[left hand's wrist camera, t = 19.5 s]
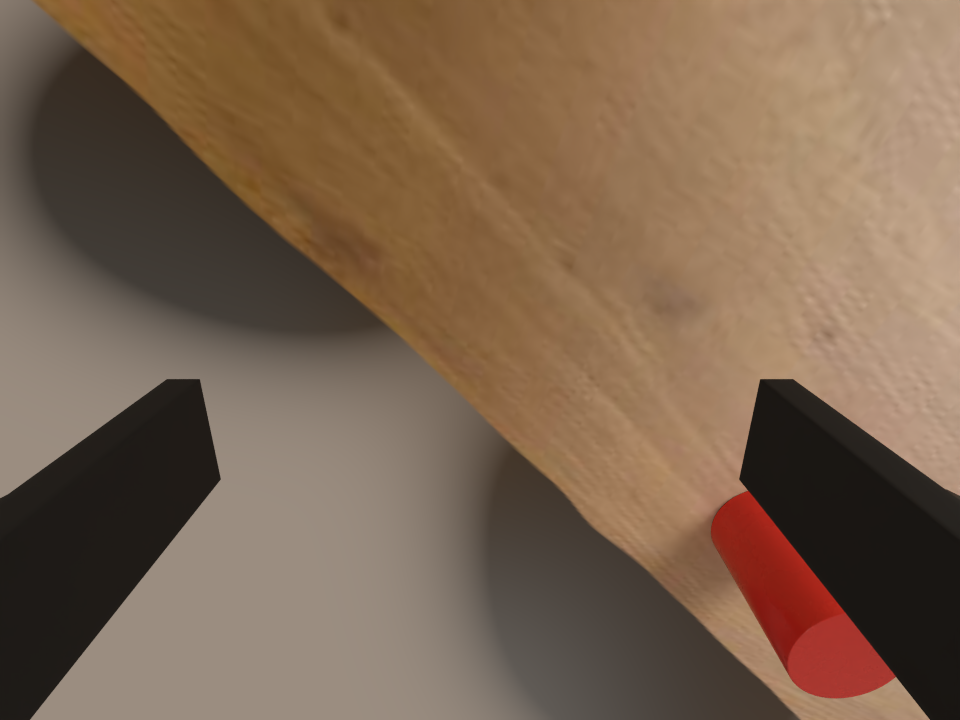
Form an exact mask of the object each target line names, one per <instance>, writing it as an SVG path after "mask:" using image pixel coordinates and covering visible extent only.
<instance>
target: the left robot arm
mask: <svg viewBox="0 0 960 720" xmlns="http://www.w3.org/2000/svg"><path fill="white" fill-rule="evenodd" d="M220 479H221V478H220V474H219V469H218V464H217V459H216V455H215V450H214V445H213V440H212V436H211V431H210V426H209V421H208V416H207V412H206V407H205V402H204V398H203V393H202V388H201V383H200V379H167V380H165V381H164V382H163V383H161V384H160V385H158V386H157V387H156V388H154V389H153V390H152V391H150V392H149V393H147V394H146V395H145V396H143V397H142V398H141V399H139V400H138V401H136V402H135V403H134V404H132V405H131V406H129V407H128V408H127V409H125V410H124V411H123V412H121V413H120V414H118V415H117V416H116V417H114V418H113V419H111V420H110V421H109V422H107V423H106V424H105V425H103V426H102V427H101V428H99V429H98V430H96V431H95V432H94V433H92V434H91V435H89V436H88V437H87V438H85V439H84V440H82V441H81V442H80V443H78V444H77V445H76V446H74V447H73V448H71V449H70V450H69V451H67V452H66V453H65V454H63V455H62V456H60V457H59V458H58V459H56V460H55V461H54V462H52V463H51V464H49V465H48V466H47V467H45V468H44V469H42V470H41V471H40V472H38V473H37V474H36V475H34V476H33V477H31V478H30V479H29V480H27V481H26V482H25V483H23V484H22V485H20V486H19V487H18V488H16V489H15V490H13V491H12V492H11V493H9V494H8V495H6V496H4V497H2V498H0V720H30V719H31V718H32V716H33V715H34V714H35V713H36V711H37V710H38V709H39V707H40V706H41V705H42V704H43V703H44V701H45V700H46V699H47V697H48V696H49V695H50V694H51V692H52V691H53V690H54V689H55V687H56V686H57V685H58V684H59V682H60V681H61V680H62V679H63V677H64V676H65V675H66V674H67V672H68V671H69V670H70V669H71V667H72V666H73V665H74V663H75V662H76V661H77V660H78V658H79V657H80V656H81V655H82V653H83V652H84V651H85V650H86V648H87V647H88V646H89V645H90V643H91V642H92V641H93V639H94V638H95V637H96V636H97V634H98V633H99V632H100V631H101V629H102V628H103V627H104V626H105V624H106V623H107V622H108V621H109V619H110V618H111V617H112V616H113V614H114V613H115V612H116V611H117V609H118V608H119V607H120V605H121V604H122V603H123V602H124V600H125V599H126V598H127V597H128V595H129V594H130V593H131V592H132V590H133V589H134V588H135V587H136V585H137V584H138V583H139V582H140V580H141V579H142V578H143V577H144V575H145V574H146V573H147V572H148V570H149V569H150V568H151V566H152V565H153V564H154V563H155V561H156V560H157V559H158V558H159V556H160V555H161V554H162V553H163V551H164V550H165V549H166V548H167V546H168V545H169V544H170V542H171V541H172V540H173V539H174V537H175V536H176V535H177V534H178V532H179V531H180V530H181V529H182V527H183V526H184V525H185V524H186V522H187V521H188V520H189V519H190V517H191V516H192V515H193V514H194V512H195V511H196V510H197V509H198V507H199V506H200V505H201V503H202V502H203V501H204V500H205V498H206V497H207V496H208V495H209V493H210V492H211V491H212V490H213V488H214V487H215V486H216V485H217V483H218V482H219V481H220ZM739 480H740V481H741V482H742V483H743V485H744V486H745V487H746V488H747V490H748V491H749V492H750V493H751V495H752V496H753V497H754V498H755V500H756V501H757V502H758V503H759V505H760V506H761V507H762V509H763V510H764V511H765V512H766V514H767V515H768V516H769V517H770V519H771V520H772V521H773V522H774V524H775V525H776V526H777V527H778V529H779V530H780V531H781V532H782V534H783V535H784V536H785V537H786V539H787V540H788V541H789V543H790V544H791V545H792V546H793V548H794V549H795V550H796V551H797V553H798V554H799V555H800V556H801V558H802V559H803V560H804V561H805V563H806V564H807V565H808V566H809V568H810V569H811V570H812V572H813V573H814V574H815V575H816V577H817V578H818V579H819V580H820V582H821V583H822V584H823V585H824V587H825V588H826V589H827V590H828V592H829V593H830V594H831V595H832V597H833V598H834V599H835V600H836V602H837V603H838V604H839V606H840V607H841V608H842V609H843V611H844V612H845V613H846V614H847V616H848V617H849V618H850V619H851V621H852V622H853V623H854V624H855V626H856V627H857V628H858V629H859V631H860V632H861V633H862V635H863V636H864V637H865V638H866V640H867V641H868V642H869V643H870V645H871V646H872V647H873V648H874V650H875V651H876V652H877V653H878V655H879V656H880V657H881V658H882V660H883V661H884V662H885V663H886V665H887V666H888V667H889V669H890V670H891V671H892V672H893V674H894V675H895V676H896V677H897V679H898V680H899V681H900V682H901V684H902V685H903V686H904V687H905V689H906V690H907V691H908V692H909V694H910V695H911V696H912V697H913V699H914V700H915V701H916V703H917V704H918V705H919V706H920V708H921V709H922V710H923V711H924V713H925V714H926V715H927V716H928V718H929V719H930V720H960V496H959V495H957V494H955V493H953V492H951V491H949V490H945V489H944V488H942V487H941V486H940V485H938V484H937V483H936V482H934V481H933V480H931V479H930V478H929V477H927V476H926V475H924V474H923V473H922V472H920V471H919V470H918V469H916V468H915V467H913V466H912V465H911V464H909V463H908V462H907V461H905V460H904V459H902V458H901V457H900V456H898V455H897V454H895V453H894V452H893V451H891V450H890V449H889V448H887V447H886V446H884V445H883V444H882V443H880V442H879V441H878V440H876V439H875V438H873V437H872V436H871V435H869V434H868V433H866V432H865V431H864V430H862V429H861V428H860V427H858V426H857V425H855V424H854V423H853V422H851V421H850V420H849V419H847V418H846V417H844V416H843V415H842V414H840V413H839V412H837V411H836V410H835V409H833V408H832V407H831V406H829V405H828V404H826V403H825V402H824V401H822V400H821V399H820V398H818V397H817V396H815V395H814V394H813V393H811V392H810V391H808V390H807V389H806V388H804V387H803V386H802V385H800V384H799V383H797V382H796V381H795V380H793V379H760V383H759V388H758V393H757V397H756V402H755V407H754V412H753V416H752V421H751V426H750V431H749V435H748V440H747V445H746V450H745V454H744V459H743V464H742V469H741V474H740V478H739Z"/></svg>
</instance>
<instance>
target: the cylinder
mask: <svg viewBox="0 0 960 720" xmlns="http://www.w3.org/2000/svg"><path fill="white" fill-rule="evenodd" d="M711 537H712V541H713V543H714V545H715V547H716V549H717V550H718V552H719V554H720V556H721V557H722V559H723V561H724V563H725V564H726V566H727V568H728V570H729V571H730V573H731V575H732V577H733V578H734V580H735V582H736V584H737V585H738V587H739V589H740V591H741V592H742V594H743V596H744V598H745V599H746V601H747V603H748V605H749V606H750V608H751V610H752V612H753V613H754V615H755V617H756V619H757V620H758V622H759V624H760V626H761V627H762V629H763V631H764V633H765V634H766V636H767V638H768V640H769V641H770V643H771V645H772V647H773V648H774V650H775V652H776V654H777V655H778V657H779V659H780V661H781V662H782V664H783V666H784V668H785V669H786V671H787V673H788V675H789V676H790V678H791V679H792V681H793V682H794V683H795V684H796V685H797V686H798V687H799V688H801V689H802V690H803V691H805V692H807V693H810V694H812V695H815V696H819V697H825V698H847V697H853V696H858V695H862V694H865V693H868V692H871V691H873V690H876V689H878V688H880V687H882V686H883V685H885V684H887V683H888V682H890V681H891V680H892V679H894V678H895V677H896V676H895V675H894V674H893V672H892V671H891V670H890V669H889V667H888V666H887V665H886V663H885V662H884V661H883V660H882V658H881V657H880V656H879V655H878V653H877V652H876V651H875V650H874V648H873V647H872V646H871V645H870V643H869V642H868V641H867V640H866V638H865V637H864V636H863V635H862V633H861V632H860V631H859V629H858V628H857V627H856V626H855V624H854V623H853V622H852V621H851V619H850V618H849V617H848V616H847V614H846V613H845V612H844V611H843V609H842V608H841V607H840V606H839V604H838V603H837V602H836V600H835V599H834V598H833V597H832V595H831V594H830V593H829V592H828V590H827V589H826V588H825V587H824V585H823V584H822V583H821V582H820V580H819V579H818V578H817V577H816V575H815V574H814V573H813V572H812V570H811V569H810V568H809V566H808V565H807V564H806V563H805V561H804V560H803V559H802V558H801V556H800V555H799V554H798V553H797V551H796V550H795V549H794V548H793V546H792V545H791V544H790V543H789V541H788V540H787V539H786V537H785V536H784V535H783V534H782V532H781V531H780V530H779V529H778V527H777V526H776V525H775V524H774V522H773V521H772V520H771V519H770V517H769V516H768V515H767V514H766V512H765V511H764V510H763V509H762V507H761V506H760V505H759V503H758V502H757V501H756V500H755V498H754V497H753V496H752V495H751V493H750V492H749V491H747V492H744V493H742V494H739V495H737V496H735V497H734V498H732V499H731V500H729V501H728V502H727V503H726V504H724V505H723V506H722V507H721V509H720V510H719V511H718V512H717V514H716V516H715V518H714V520H713V523H712V527H711Z"/></svg>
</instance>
